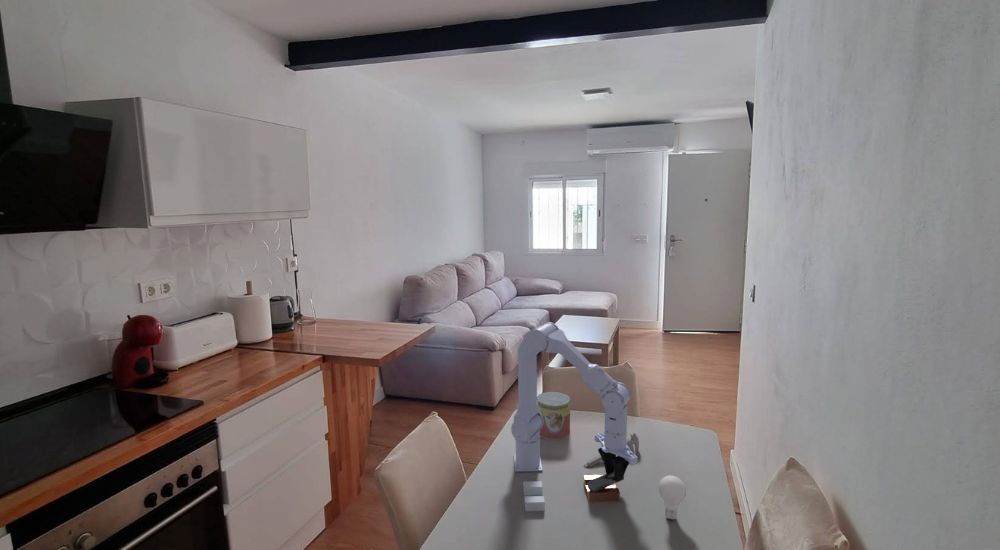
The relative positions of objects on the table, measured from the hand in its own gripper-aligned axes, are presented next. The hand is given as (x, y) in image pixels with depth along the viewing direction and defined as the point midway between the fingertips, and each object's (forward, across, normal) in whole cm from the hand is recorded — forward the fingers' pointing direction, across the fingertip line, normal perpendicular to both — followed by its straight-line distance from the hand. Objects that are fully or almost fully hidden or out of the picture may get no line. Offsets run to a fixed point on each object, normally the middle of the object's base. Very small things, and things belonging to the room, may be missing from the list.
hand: (614, 476), depth 129 cm
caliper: (+5, -13, +11) cm, 18 cm away
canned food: (+5, -36, +5) cm, 37 cm away
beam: (+4, -8, -21) cm, 23 cm away
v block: (+4, -2, -3) cm, 6 cm away
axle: (+2, 0, -3) cm, 3 cm away
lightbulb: (+5, +15, +5) cm, 17 cm away
